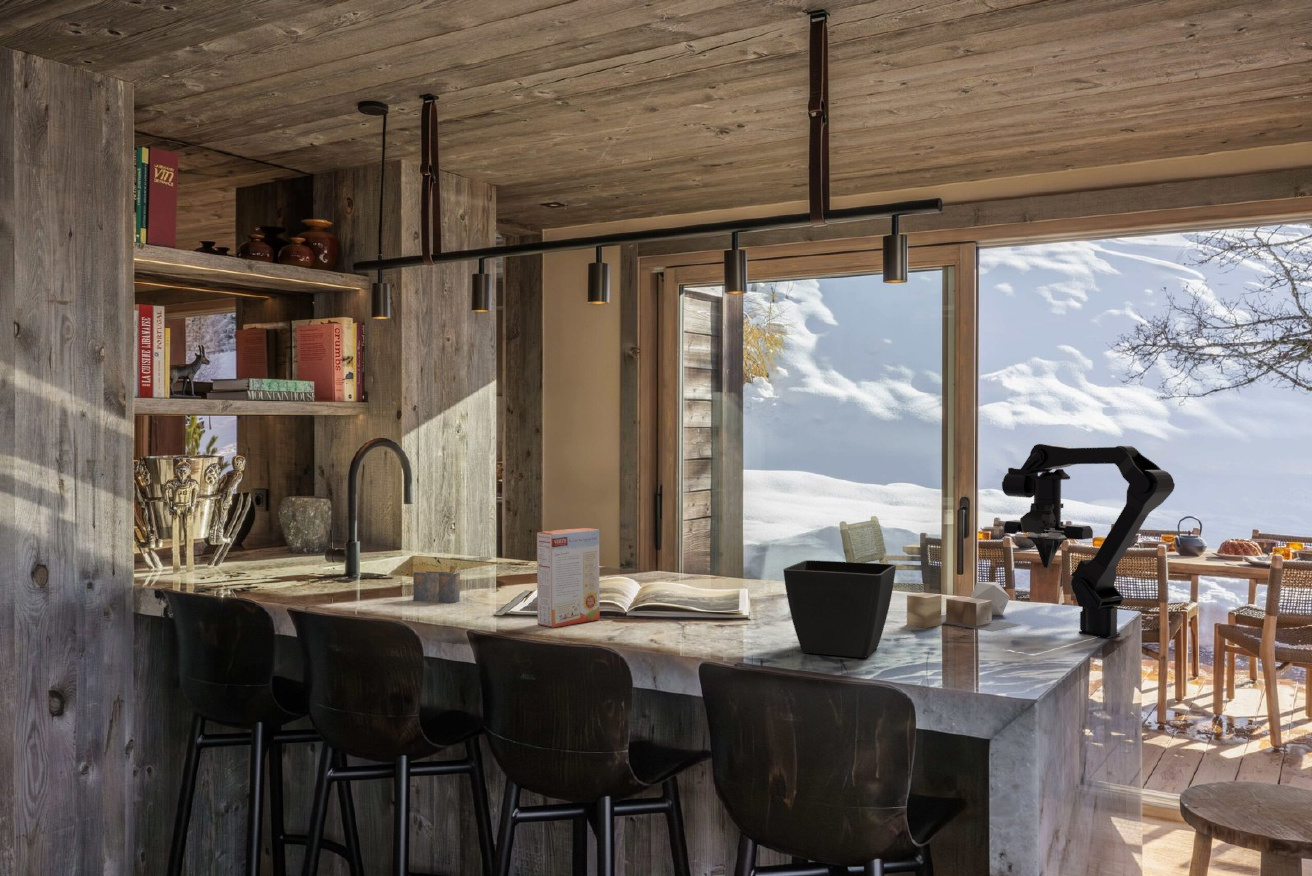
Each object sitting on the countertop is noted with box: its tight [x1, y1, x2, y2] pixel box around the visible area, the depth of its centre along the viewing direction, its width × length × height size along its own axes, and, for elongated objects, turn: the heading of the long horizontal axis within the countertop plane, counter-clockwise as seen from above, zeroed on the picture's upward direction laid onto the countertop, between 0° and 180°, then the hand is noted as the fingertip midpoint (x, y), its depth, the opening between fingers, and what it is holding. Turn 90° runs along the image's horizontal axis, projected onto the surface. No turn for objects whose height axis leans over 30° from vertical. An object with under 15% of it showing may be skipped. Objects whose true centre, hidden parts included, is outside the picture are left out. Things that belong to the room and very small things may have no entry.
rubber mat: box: [941, 613, 1021, 632], centre depth 229 cm, size 18×12×1 cm, turn 41°
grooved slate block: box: [412, 563, 461, 604], centre depth 253 cm, size 11×3×10 cm, turn 78°
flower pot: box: [783, 559, 897, 659], centre depth 199 cm, size 19×19×17 cm
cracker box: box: [536, 527, 601, 629], centre depth 226 cm, size 14×6×21 cm, turn 135°
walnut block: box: [945, 595, 993, 626], centre depth 229 cm, size 5×6×8 cm
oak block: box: [906, 592, 943, 629], centre depth 226 cm, size 5×6×7 cm
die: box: [970, 581, 1011, 616], centre depth 240 cm, size 8×9×10 cm
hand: (1046, 567), depth 228 cm, fingers closed
